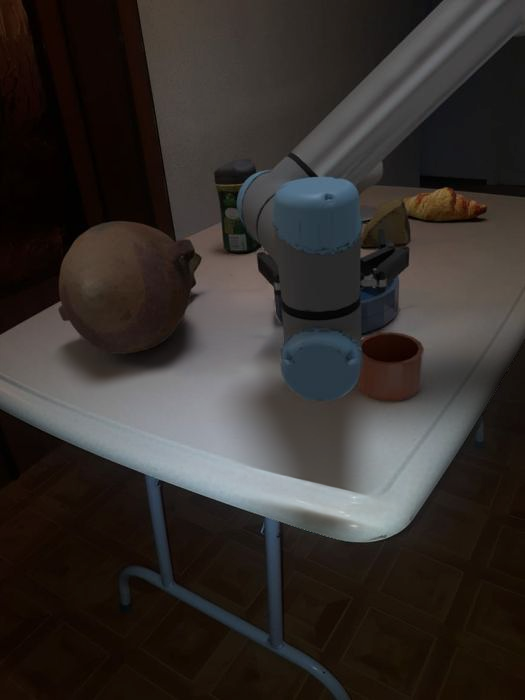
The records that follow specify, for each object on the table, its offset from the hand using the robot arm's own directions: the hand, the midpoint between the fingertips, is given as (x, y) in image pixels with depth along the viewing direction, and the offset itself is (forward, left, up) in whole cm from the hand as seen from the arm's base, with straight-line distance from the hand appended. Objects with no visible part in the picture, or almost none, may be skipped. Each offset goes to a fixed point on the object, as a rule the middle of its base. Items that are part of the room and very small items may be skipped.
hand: (333, 239), depth 81 cm
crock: (-12, +15, -14) cm, 24 cm away
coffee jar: (+31, -31, -14) cm, 46 cm away
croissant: (-7, -58, -14) cm, 60 cm away
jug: (+29, +8, -14) cm, 33 cm away
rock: (+1, -38, -14) cm, 40 cm away
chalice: (+13, -56, -14) cm, 59 cm away
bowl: (+1, -4, -14) cm, 14 cm away
